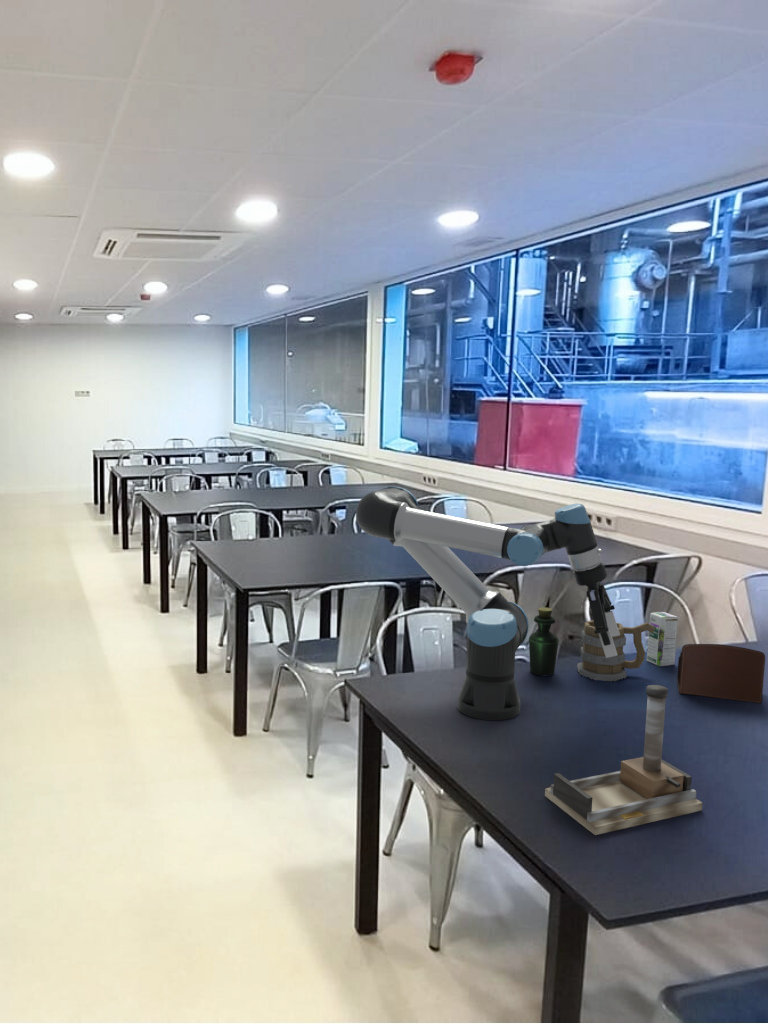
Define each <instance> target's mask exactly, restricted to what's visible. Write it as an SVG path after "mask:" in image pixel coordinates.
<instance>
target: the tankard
mask: <svg viewBox="0 0 768 1024" xmlns="http://www.w3.org/2000/svg"><path fill="white" fill-rule="evenodd" d="M616 624H617V627H618V630H619V633H620V635H619V636H614V637H612V639H613V642H614V645H615V648H616V651H617V656H613V657H608V658H606V656H605V653H604V650H603V647H602V644H601V640H600V637H599V634H595V633H594V631H596V629H595V625H594V620H593V619H592V620H588V621H584V626H583V629H582V630H581V636H580V637H581V641H582V646H580V651H579V652H580V656H581V660H582V662H578V663H577V665H576V669H577V668H578V669H577V673H578V672H579V673H578V675H579V674H581V675H583V676H582V677H584V676H586V677H589V678H591V679H590V680H592V679H594V680H593V681H597V680H602V681H601V682H612V681H614V682H617V681H620V679H621V680H624V679H626V678H627V675H628V674H627V671H626V669H629V670H630V669H640V667H641V666H642V665H643V663H644V661H645V655H646V651H645V648H644V646H643V638H642V633H644V632H646V631H648V633H649V632H651V633H653V632H654V630H655V627H653V626H652V625H650V623H648V622H644V623H641V624H639V625H637V626H633V627H631V626H630V627H629V626H628V627H627V626H624V625H623V624H622V623H620V622H616ZM601 627H603V626H601ZM601 627H599V628H601ZM625 634H627V635H632V637H633V645H634V647H635V651H636V656H635V659H634V660H626V654H625V652H624V646H626V643H627V636H626V635H625ZM581 675H580V676H581ZM586 677H585V678H586ZM589 678H588V679H589ZM623 678H624V679H623Z"/></svg>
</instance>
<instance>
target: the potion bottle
mask: <svg viewBox="0 0 768 1024" xmlns="http://www.w3.org/2000/svg"><path fill="white" fill-rule="evenodd" d="M537 609H538V610H537V611H538V615H534V619H533V622H535V623H536V624H537V628H538V630H536V631H534V632H533V633H530V635H529V637H528V644H529V645H528V647H529V648H528V650H529V651H528V652H529V671H530V673H531V672H532V674H533V673H534V674H533V675H535V674H536V675H535V676H539V675H550V676H552V675H553V674H554V673H555V669H556V662H557V655H558V647H559V641H560V640H559V638H558V636H557V635H556V634H554V633H553V632H551V631H550V630H551V628H552V627H551V626H552V625H553V624H555V623H556V619H555V617H554V616H553V615H552V613H553V608H550V607H538V608H537ZM551 674H552V675H551Z"/></svg>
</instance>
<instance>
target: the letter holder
mask: <svg viewBox="0 0 768 1024" xmlns="http://www.w3.org/2000/svg"><path fill="white" fill-rule="evenodd" d="M679 654H680V655H679V656H678V662H677V675H676V683H677V690H678V693H679V694H680V695H686V696H687V695H689V696H697V697H705V698H711V699H712V698H713V699H722V700H730V701H731V700H732V701H739V702H748V703H755V704H762V702H763V692H764V680H765V679H764V678H765V676H764V675H765V667H766V666H765V665H766V655H765V654H766V653H764V652H762V651H760V650H756V649H752V648H746V647H742V646H741V647H740V646H736V645H735V646H734V645H728V644H719V643H718V644H717V643H686V644H684V645H683V646H682V647H681V651H680V653H679Z"/></svg>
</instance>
